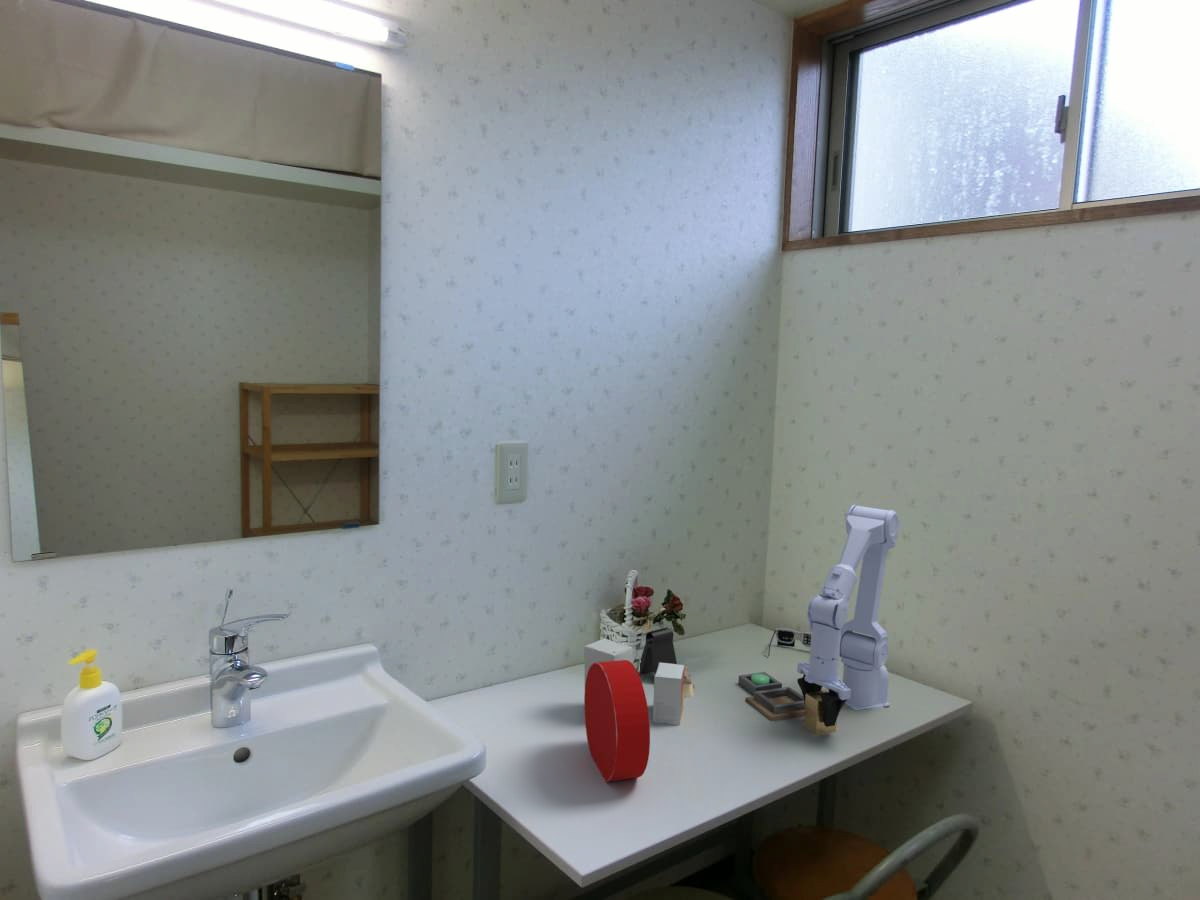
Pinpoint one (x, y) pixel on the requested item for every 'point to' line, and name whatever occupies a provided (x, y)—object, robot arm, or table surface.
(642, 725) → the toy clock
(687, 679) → the mouse figurine
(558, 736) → the table surface
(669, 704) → the small box
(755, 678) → the button
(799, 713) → the framed wooden tray
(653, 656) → the phone stand
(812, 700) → the block
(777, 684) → the button housing
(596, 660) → the skincare box
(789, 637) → the smart glasses
